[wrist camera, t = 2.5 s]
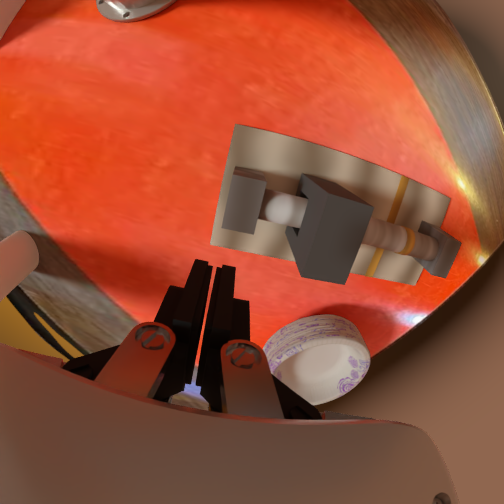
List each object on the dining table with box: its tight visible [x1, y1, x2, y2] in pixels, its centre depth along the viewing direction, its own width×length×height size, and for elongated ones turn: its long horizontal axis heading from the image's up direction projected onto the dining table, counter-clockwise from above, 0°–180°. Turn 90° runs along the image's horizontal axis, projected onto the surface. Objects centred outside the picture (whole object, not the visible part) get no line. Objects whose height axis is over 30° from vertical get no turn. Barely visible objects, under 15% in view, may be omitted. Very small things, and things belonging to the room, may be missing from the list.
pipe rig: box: [210, 124, 461, 285], centre depth 28 cm, size 30×14×7 cm, turn 77°
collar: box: [285, 173, 374, 285], centre depth 25 cm, size 4×7×10 cm, turn 167°
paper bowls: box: [263, 315, 370, 405], centre depth 36 cm, size 15×15×8 cm
